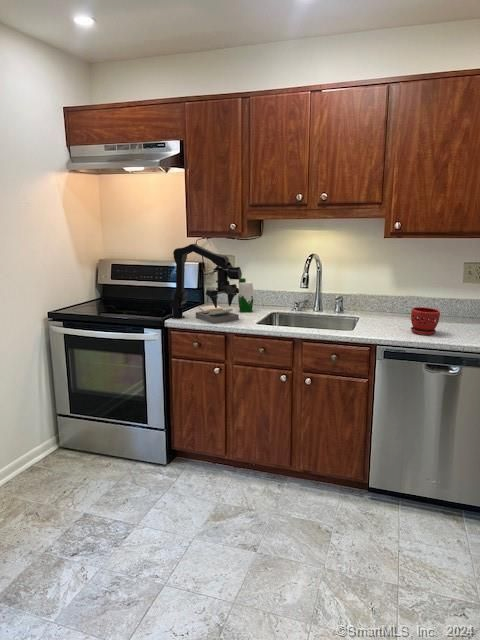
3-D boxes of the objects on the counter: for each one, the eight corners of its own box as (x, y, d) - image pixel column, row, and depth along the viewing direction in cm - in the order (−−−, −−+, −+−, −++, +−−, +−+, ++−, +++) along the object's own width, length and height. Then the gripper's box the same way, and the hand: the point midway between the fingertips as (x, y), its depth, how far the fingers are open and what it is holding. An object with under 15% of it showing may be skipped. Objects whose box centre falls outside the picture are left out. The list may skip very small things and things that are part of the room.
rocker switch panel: (195, 317, 267) (195, 312, 267) (218, 314, 277) (218, 308, 276) (214, 323, 252) (214, 318, 251) (238, 319, 261) (238, 314, 260)
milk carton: (238, 309, 289) (238, 277, 285) (252, 309, 289) (253, 277, 285) (238, 312, 281) (238, 279, 276) (253, 312, 281) (253, 279, 276)
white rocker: (199, 310, 267) (199, 307, 266) (216, 307, 274) (216, 304, 273) (204, 314, 263) (205, 310, 262) (222, 311, 270) (222, 308, 269)
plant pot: (420, 337, 223) (422, 312, 220) (404, 330, 235) (406, 307, 232) (443, 335, 226) (446, 311, 223) (427, 329, 238) (429, 306, 235)
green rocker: (209, 315, 259) (208, 311, 259) (226, 312, 266) (226, 309, 266) (215, 315, 254) (214, 311, 254) (232, 312, 261) (232, 308, 261)
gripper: (216, 282, 243) (217, 311, 246) (245, 279, 253) (245, 307, 257) (205, 279, 251) (205, 308, 255) (233, 277, 262) (233, 304, 266)
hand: (222, 306), depth 258 cm, fingers open, 9 cm apart
